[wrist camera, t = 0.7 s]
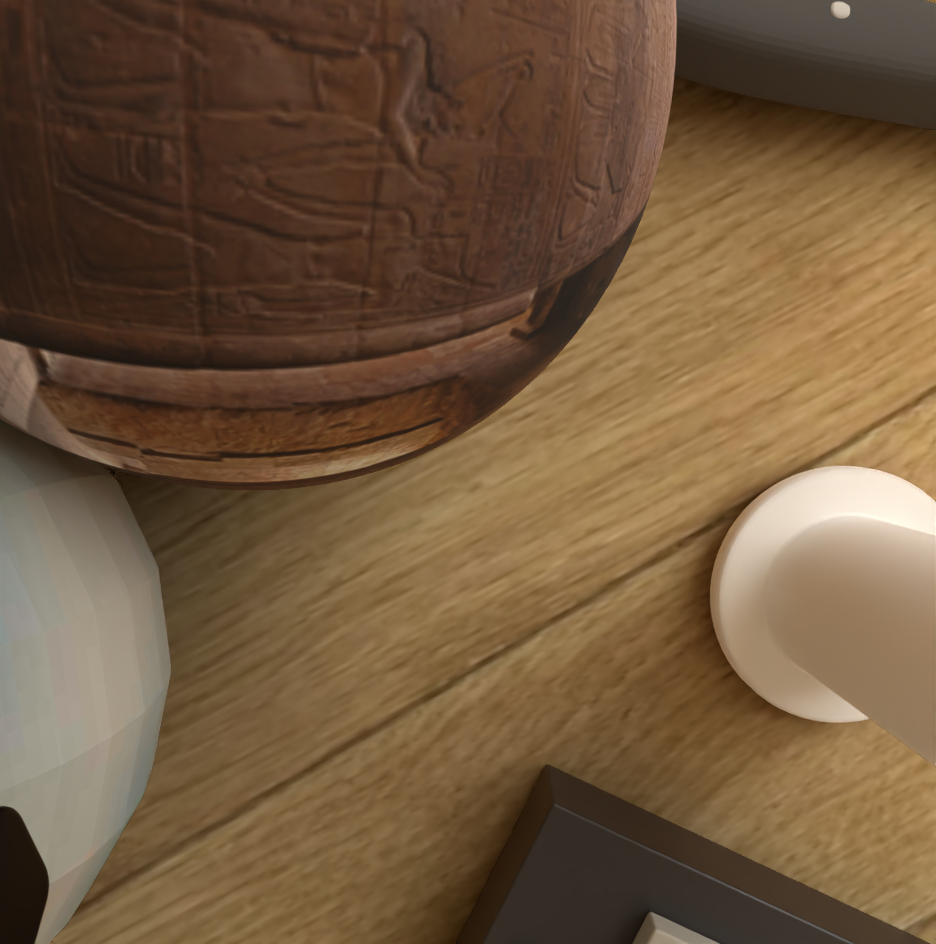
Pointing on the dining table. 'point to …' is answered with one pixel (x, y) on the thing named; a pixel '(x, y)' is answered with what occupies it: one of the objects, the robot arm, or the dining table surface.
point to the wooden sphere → (309, 219)
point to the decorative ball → (74, 662)
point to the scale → (644, 883)
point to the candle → (835, 600)
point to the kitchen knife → (816, 54)
